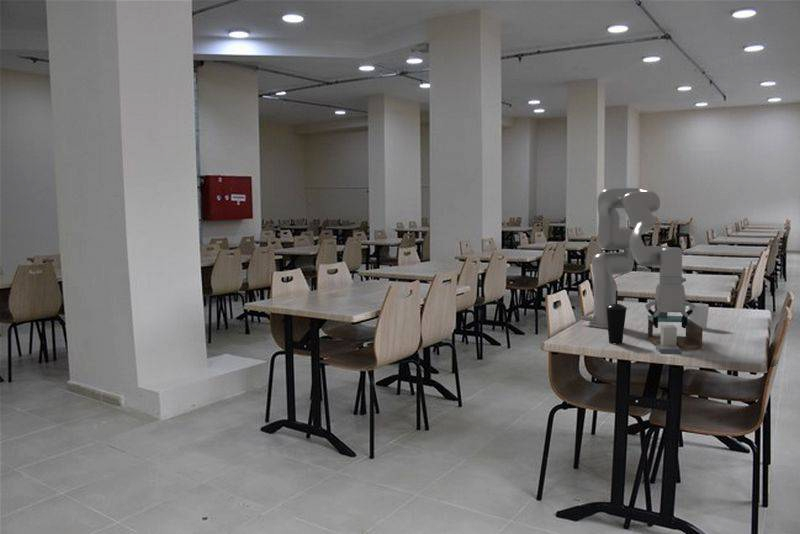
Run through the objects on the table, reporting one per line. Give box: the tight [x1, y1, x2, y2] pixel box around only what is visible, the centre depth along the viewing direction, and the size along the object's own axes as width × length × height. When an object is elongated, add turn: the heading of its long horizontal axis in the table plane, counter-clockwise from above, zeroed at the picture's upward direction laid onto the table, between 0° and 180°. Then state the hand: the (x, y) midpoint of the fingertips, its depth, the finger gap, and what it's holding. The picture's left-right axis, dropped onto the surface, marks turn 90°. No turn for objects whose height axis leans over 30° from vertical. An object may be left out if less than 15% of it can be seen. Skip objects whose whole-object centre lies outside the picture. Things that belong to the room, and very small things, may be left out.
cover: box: [647, 312, 691, 323], centre depth 253 cm, size 14×8×6 cm, turn 81°
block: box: [660, 324, 678, 345], centre depth 244 cm, size 4×4×8 cm
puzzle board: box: [647, 318, 704, 351], centre depth 248 cm, size 15×18×8 cm
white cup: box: [687, 302, 710, 330], centre depth 279 cm, size 8×8×10 cm
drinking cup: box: [606, 289, 628, 345], centre depth 251 cm, size 8×8×20 cm
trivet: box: [655, 345, 682, 354], centre depth 236 cm, size 7×6×2 cm
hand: (669, 327), depth 243 cm, fingers open, 9 cm apart
